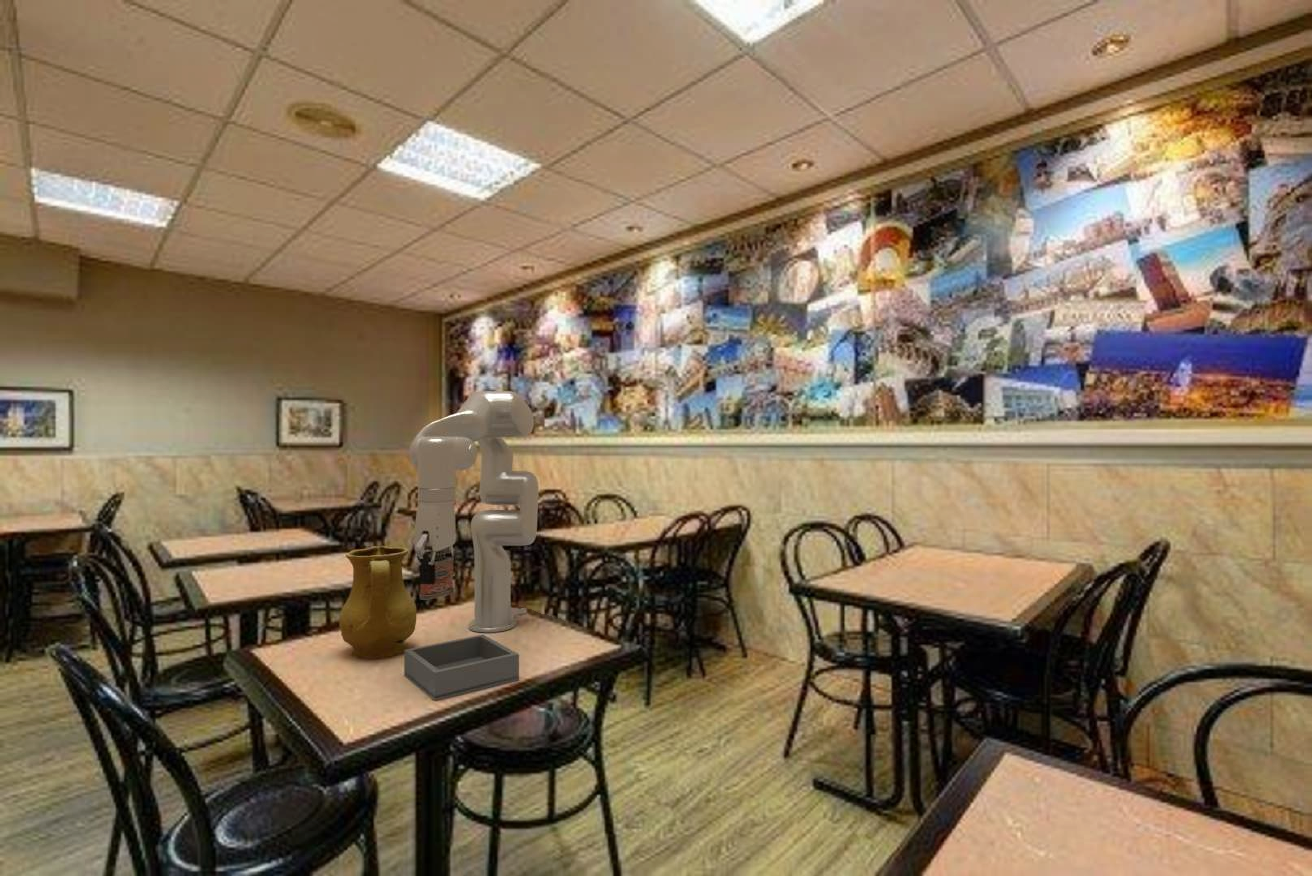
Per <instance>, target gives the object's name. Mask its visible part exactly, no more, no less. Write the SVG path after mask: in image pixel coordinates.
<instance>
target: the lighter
mask: <svg viewBox="0 0 1312 876" xmlns="http://www.w3.org/2000/svg"><path fill="white" fill-rule="evenodd" d="M446 553H450V548H446V549H444V550H441V551H438V552H436V555H435V559H434V563H433V564H435V584H420V593H419V600H423V601H426V600H432V599H437V598H441V597H445V596H448V595H451V594H454V591H455V588H454V587H453V584H454V582H453V581H454V579H453V577H454V574H453V561H454V559H455V557H454V556H451V557H445V554H446ZM441 554H442V555H441ZM427 555H428V556H429V558H430V554H427ZM453 557H454V558H453Z"/></svg>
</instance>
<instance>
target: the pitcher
mask: <svg viewBox="0 0 1312 876" xmlns="http://www.w3.org/2000/svg"><path fill="white" fill-rule="evenodd" d="M408 553H409V549H408V548H407V547H401V546H395V547H391V546H384V545H381V546H376V545H375V546H374V545H373V546H371V547H368V548H367V547H366V548H361V549H353V550H351V551H350V552H346V554H345V557H346V558H347V559H348V561H349V562H350V564H351V565H352V569H353V571H352V585H351V589H350V593H349V596H348V597H347V600H346V601H345V603H344V605H343V606H342V609H341V611H340V614H339V620H338V621H339V625H338V627H339V629H340V631H341V638H342V640H343V641H344V643H347V644H348V645H350V646H351V647H352V649H353V651H352V652H351V654H350V656H352V657H353V658H356V659H357V658H358V659H364V660H366V659H371V660H376V659H380V658H381V659H382V658H383V659H384V658H390V657H394V656H398V655H399V654H400V655H401V654H402V653H404V650H406V649H409V647H408V646H409V645H408V644H407V643H404V642H405V641H406V640H407V639H409V638H410V637H411V636H412V635H413V634H414V632H415V631H416V624H417V606H416V603H415V600H414V599H413V597H412V596H411V595H410V592H408V589H407V588H406V586H405V584H404V577H403V567H402V564H403V562H404V561H403V560H404V558H405V557H406V556H407V554H408Z"/></svg>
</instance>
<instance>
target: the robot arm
mask: <svg viewBox="0 0 1312 876" xmlns="http://www.w3.org/2000/svg"><path fill="white" fill-rule="evenodd" d="M534 422H535V419H534V415H533V411H532V409H531V407H530V406H529V405H528V404H527V402H526V401H525V400H524V398H522V396H521V395H519V394H518V393H517V392H516V391H515V392H514V391H511V390H480V391H476V392H474V393H471V395H470V396H468V398H467V399H466V400H465V401H464V403H463V404H462V405H461V406H460V408H459V409H458V410H457V412H456V413H453V414H450V415H447V416H445V417H442V418H440V419H438V420H435V421H432V422H430V423H429V424H427V425H425V426H424V427H423V428H421V429H420V431H419V432H418V433H417V434H416V436H415V437H414V438H413V440H412V442H411V444H410V447H409V454H408V455H409V460H410V463H411V465H413V467H414V468H416V469H417V509H416V515H415V525H414V543H413V544H414V550H415V554H416V557H417V561H418V562H417V563H418V565H419V584H420V585H421V584H435V564H433V563H434V559H435V555H436V552H438V551H441V550H444V549H446V548H450V553H446V554H445V557H453V558H454V559H455V547H456V541H457V536H458V535H457V534H456V528H457V527H456V515H455V514H456V510H455V505H454V504H455V503H456V471H466V470H469V469H470V468H472V467H473V465H474V464H475V463H476V461H477V458H478V447H477V446H476V444H475V443H476V442H477V443H478V446H479V449H480V453H481V462H480V463H481V467H480V480H479V481H480V482H479V498H480V500H481V502H482V503H483V504H486V505H490V506H516V507H517V506H518V507H519V510H517V509H515V510H513V509H512V510H511V509H509V510H508V509H488V510H487V509H486V510H482V511H479V512H477V513H475V514H474V515H473V517H472V519H471V523H470V531H471V533H470V534H471V539H472V544H473V555H474V557H473V558H474V619H472V620H470V622H468V629H469V630H470V631H473V632H476V633H477V632H478V633H497V632H498V633H500V632H504V631H507V630H511V629H513V628H515V627H516V626H517V620H516V618H517V617H519V616H526V615H528V614H527V613H528V609H527V608H526V607H521V608H518V607H512V606H511V574H512V573H511V571H512V570H511V567H512V566H511V559H510V556H509V554H508V553H507V551H506V550H505V549H504V546H528V545H529V546H530V545H531V544H533V543H534V542H535V540H536V537H537V532H538V531H537V530H538V529H537V528H538V513H539V512H538V510H539V509H538V508H539V481H538V479H537V476H536V475H535V474H534V473H533V472H531V471H528V470H514V469H513V462H514V453H513V450H512V449H511V448H510V445H508V444H507V442H506V441H505V440H504V439H503V438H525V437H528V436H529V435H531V433H532V432H533V430H534V425H535V423H534ZM427 554H430V558H429V556H428V555H427ZM441 555H442V554H441ZM454 569H455V568H454V561H453V575H454V571H455V570H454Z"/></svg>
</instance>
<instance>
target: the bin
mask: <svg viewBox="0 0 1312 876" xmlns="http://www.w3.org/2000/svg"><path fill="white" fill-rule="evenodd" d="M403 653H404V655H403V656H404V658H403V660H404V661H403V662H404V667H403V668H404V673H403V675H404V677H406V678H407V679H408V680H409V681H410V682H411V683H413V684H414V685H415V686H416V687H418V688H419V690H421V691H422V692H423V693H424V694H426V695H427V696H428V697H429V698H430V699H431V700H432V701H434V702H436V701H440V700H441V701H442V700H445V699H448V698H449V699H450V698H452V697H457V696H461V695H464V694H468V693H473V692H477V691H481V690H484V689H485V690H486V689H490V688H493V687H496V686H501V685H505V684H508V683H513V682H517V681H519V680H520V654H519V653H518V652H516V651H514V650H512V649H511V648H509V647H507V646H505V645H504V644H502V643H500V642H498V641H495V640H494V639H493V638H490V637H488V636H486V635H485V634H478V635H473V636H469V637H468V636H467V637H464V638H459V639H458V638H457V639H453V640H448V641H442V642H438V643H432V644H427V645H423V646H418V647H412V648H408V649H406V650H404V652H403Z"/></svg>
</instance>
